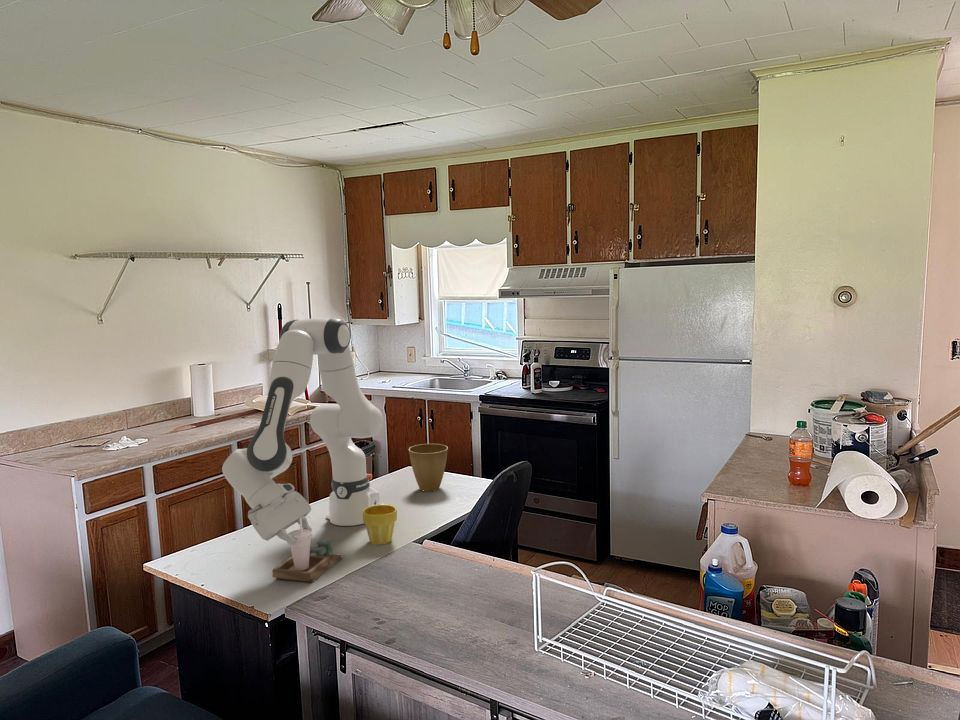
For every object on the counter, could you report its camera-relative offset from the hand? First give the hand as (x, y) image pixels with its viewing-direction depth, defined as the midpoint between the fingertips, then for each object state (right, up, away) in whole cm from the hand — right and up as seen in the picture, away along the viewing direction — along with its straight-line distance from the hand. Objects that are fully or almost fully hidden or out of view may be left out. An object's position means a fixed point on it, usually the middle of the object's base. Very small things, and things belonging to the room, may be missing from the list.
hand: (302, 537), depth 182 cm
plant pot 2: (+29, -2, +76) cm, 81 cm away
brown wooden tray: (+1, -10, +5) cm, 11 cm away
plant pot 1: (+18, -7, +24) cm, 31 cm away
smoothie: (0, -9, +1) cm, 9 cm away
